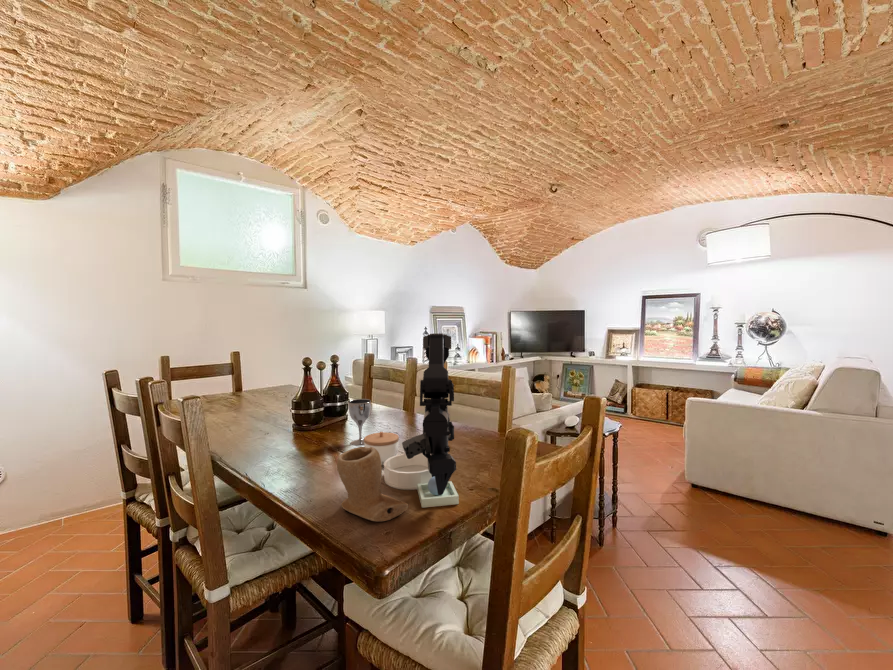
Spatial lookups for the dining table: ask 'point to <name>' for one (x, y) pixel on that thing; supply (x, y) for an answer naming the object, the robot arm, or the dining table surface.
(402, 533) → the dining table surface
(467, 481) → the dining table surface
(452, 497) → the tray
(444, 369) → the robot arm
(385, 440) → the lidded jar
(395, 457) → the bowl
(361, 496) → the tan boot vase
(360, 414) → the wine glass
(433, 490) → the ball
